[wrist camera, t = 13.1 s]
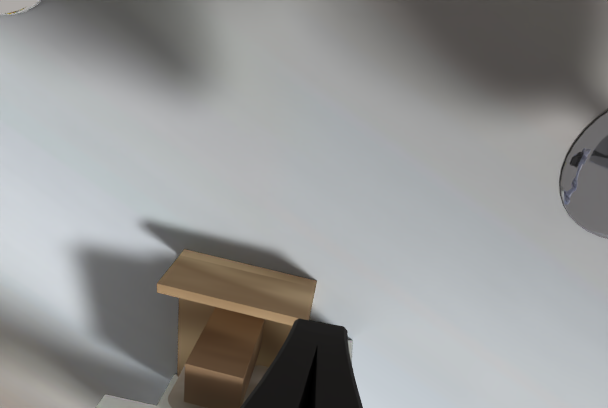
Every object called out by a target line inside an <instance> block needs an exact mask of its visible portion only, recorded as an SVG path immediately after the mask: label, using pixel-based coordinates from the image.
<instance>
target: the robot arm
mask: <svg viewBox="0 0 608 408" xmlns="http://www.w3.org/2000/svg"><path fill="white" fill-rule="evenodd" d="M240 408H363V407H362V403H361V400H360V396H359V392H358V389H357V385H356V381H355V377H354V373H353V368H352V363H351V358H350V353H349V346H348V337H347V330H346V329H345V328H344V327H342V326H337V325H332V324H326V323H321V322H316V321H310V320H305V319H300V318H299V319H297V320H295V321H294V323H293V326H292V328H291V330H290V332H289V334H288V336H287V338H286V340H285V342H284V344H283V346H282V347H281V349H280V351H279V352H278V354H277V356H276V357H275V359H274V360H273V362H272V363H271V365H270V366H269V368H268V369H267V371H266V372H265V374H264V375H263V377H262V378H261V380H260V381H259V383H258V384H257V386H256V387H255V388H254V390H253V391H252V392H251V394H250V395H249V396H248V398H247V399H246V400H245V402H244V403H243V404H242V405H241V407H240Z"/></svg>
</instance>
